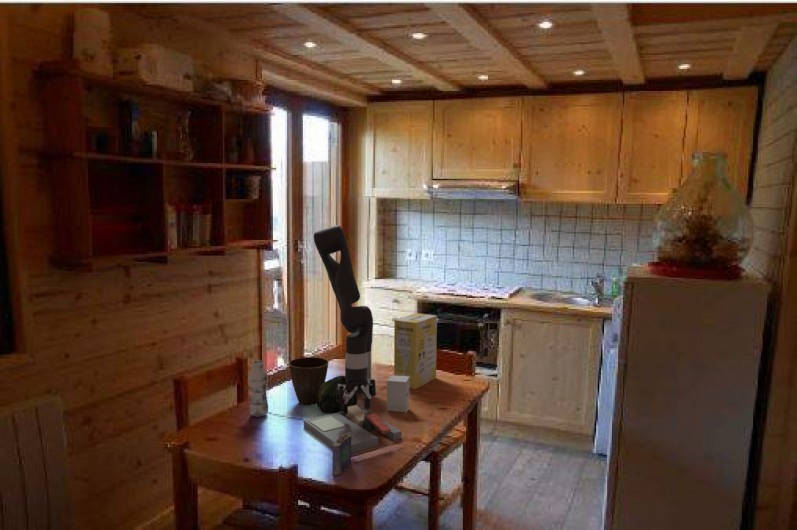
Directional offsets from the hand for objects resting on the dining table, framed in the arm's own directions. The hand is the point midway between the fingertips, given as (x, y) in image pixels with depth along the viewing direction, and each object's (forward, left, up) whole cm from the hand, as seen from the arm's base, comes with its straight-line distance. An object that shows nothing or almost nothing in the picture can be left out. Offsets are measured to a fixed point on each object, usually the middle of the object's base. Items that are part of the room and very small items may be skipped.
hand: (356, 411), depth 192 cm
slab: (0, 0, -3) cm, 3 cm away
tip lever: (+5, 0, -5) cm, 7 cm away
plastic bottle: (-30, -23, -6) cm, 38 cm away
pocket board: (+5, -5, -6) cm, 9 cm away
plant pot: (-32, -2, -6) cm, 33 cm away
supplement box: (-5, +21, -7) cm, 23 cm away
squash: (-17, +2, -7) cm, 19 cm away
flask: (+23, -19, -7) cm, 30 cm away
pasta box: (-30, +48, -6) cm, 58 cm away
